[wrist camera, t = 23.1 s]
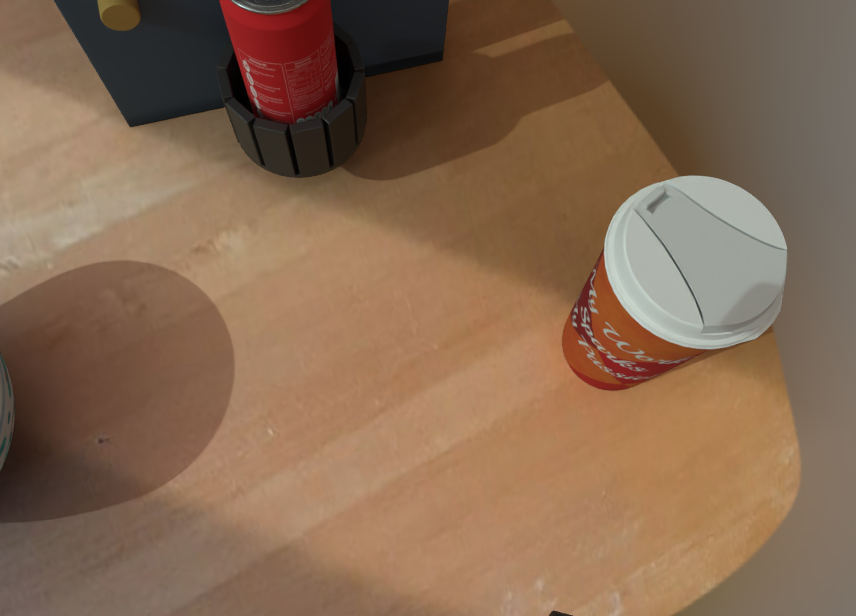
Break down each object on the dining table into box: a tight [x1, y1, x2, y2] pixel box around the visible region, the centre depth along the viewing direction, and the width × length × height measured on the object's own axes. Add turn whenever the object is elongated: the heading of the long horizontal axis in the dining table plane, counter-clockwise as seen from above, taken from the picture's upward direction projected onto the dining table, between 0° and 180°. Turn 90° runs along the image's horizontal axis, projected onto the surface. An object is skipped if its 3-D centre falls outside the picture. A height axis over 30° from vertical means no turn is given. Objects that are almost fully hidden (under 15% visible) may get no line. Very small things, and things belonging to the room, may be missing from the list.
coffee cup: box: [562, 176, 787, 391], centre depth 38 cm, size 8×8×15 cm
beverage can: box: [219, 0, 341, 151], centre depth 39 cm, size 5×5×12 cm
